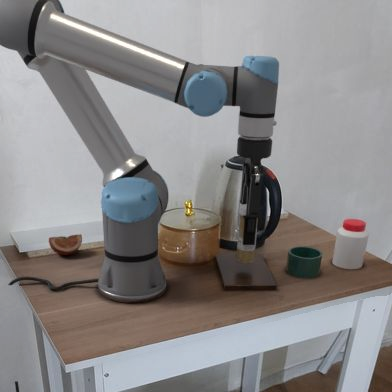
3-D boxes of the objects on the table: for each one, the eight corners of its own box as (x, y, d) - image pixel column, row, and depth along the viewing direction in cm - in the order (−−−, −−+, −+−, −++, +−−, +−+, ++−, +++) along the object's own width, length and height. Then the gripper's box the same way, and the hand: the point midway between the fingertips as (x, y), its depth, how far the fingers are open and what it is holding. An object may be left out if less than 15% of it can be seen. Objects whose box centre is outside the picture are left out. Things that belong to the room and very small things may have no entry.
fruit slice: (79, 248, 146) (78, 229, 144) (86, 256, 141) (85, 238, 139) (47, 252, 143) (45, 233, 141) (54, 261, 138) (52, 242, 136)
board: (224, 290, 127) (225, 285, 126) (215, 257, 144) (215, 253, 143) (276, 290, 128) (276, 285, 127) (260, 257, 145) (261, 253, 144)
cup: (290, 278, 134) (292, 258, 132) (283, 264, 141) (285, 246, 139) (323, 277, 135) (326, 258, 132) (314, 264, 142) (317, 246, 139)
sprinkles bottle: (233, 257, 136) (237, 203, 129) (251, 257, 137) (256, 203, 130) (238, 265, 132) (242, 209, 125) (256, 264, 133) (261, 208, 126)
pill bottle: (360, 259, 146) (368, 218, 141) (364, 270, 140) (373, 228, 134) (330, 257, 147) (337, 216, 141) (333, 268, 140) (341, 226, 135)
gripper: (280, 145, 112) (269, 254, 124) (264, 130, 127) (255, 228, 139) (244, 144, 112) (236, 254, 124) (232, 129, 127) (226, 228, 139)
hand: (246, 240), depth 132 cm, fingers closed on sprinkles bottle, 5 cm apart
